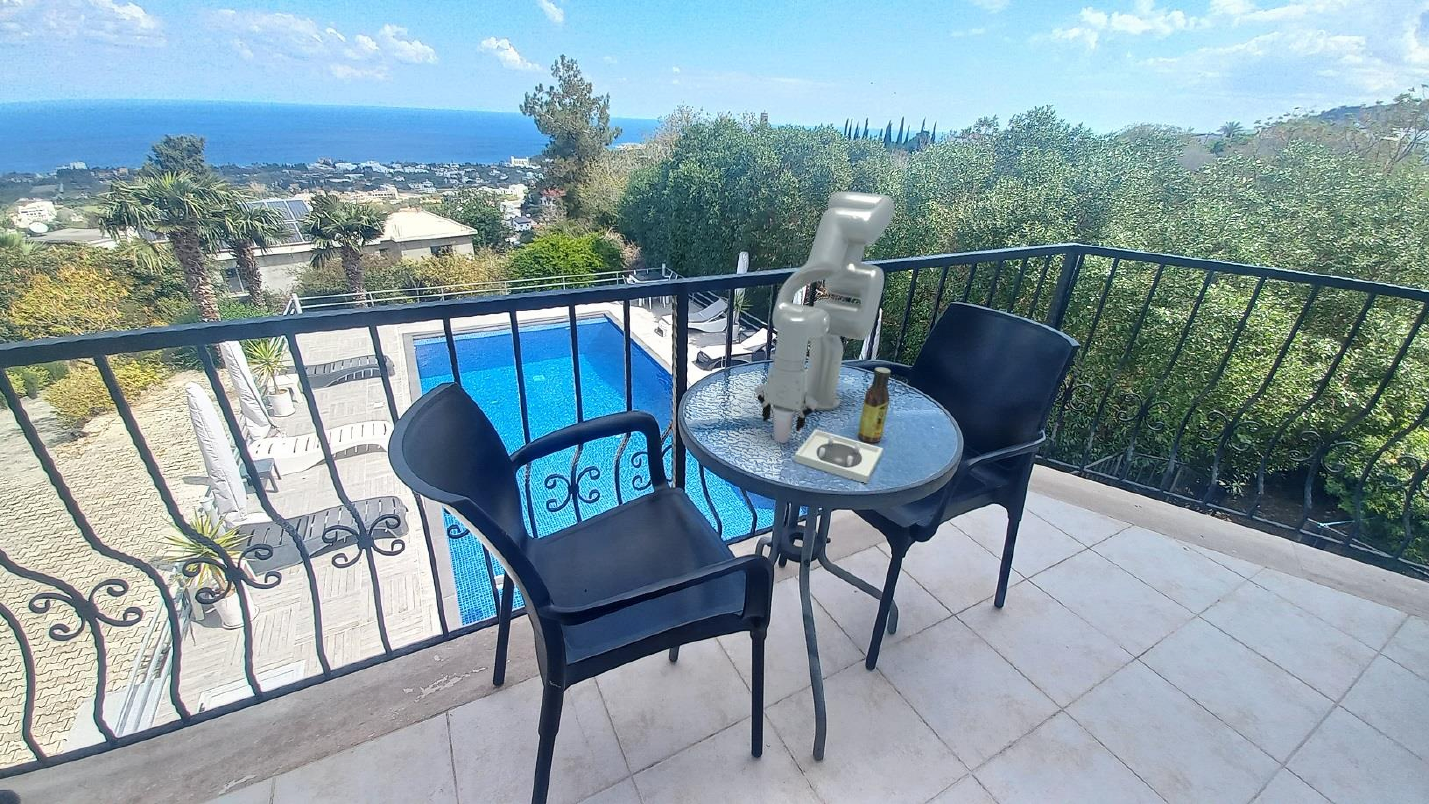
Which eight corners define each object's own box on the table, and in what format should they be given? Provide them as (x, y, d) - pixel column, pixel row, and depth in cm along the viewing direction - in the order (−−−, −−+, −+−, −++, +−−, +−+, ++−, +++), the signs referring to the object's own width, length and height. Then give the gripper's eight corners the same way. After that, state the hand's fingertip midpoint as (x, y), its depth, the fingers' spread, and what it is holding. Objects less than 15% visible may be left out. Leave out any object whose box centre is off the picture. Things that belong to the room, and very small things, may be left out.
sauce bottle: (876, 446, 142) (891, 377, 133) (854, 439, 144) (866, 371, 136) (884, 436, 147) (898, 369, 138) (861, 429, 150) (874, 363, 141)
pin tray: (814, 436, 145) (815, 424, 143) (881, 455, 138) (883, 443, 136) (794, 461, 133) (795, 449, 131) (866, 484, 126) (868, 471, 124)
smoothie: (795, 436, 145) (801, 388, 138) (790, 447, 139) (796, 398, 133) (772, 431, 146) (777, 384, 140) (766, 442, 141) (771, 394, 135)
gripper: (751, 359, 134) (746, 421, 141) (818, 375, 126) (809, 439, 134) (763, 351, 140) (758, 410, 147) (828, 365, 132) (818, 427, 140)
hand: (782, 424), depth 141 cm, fingers open, 8 cm apart
